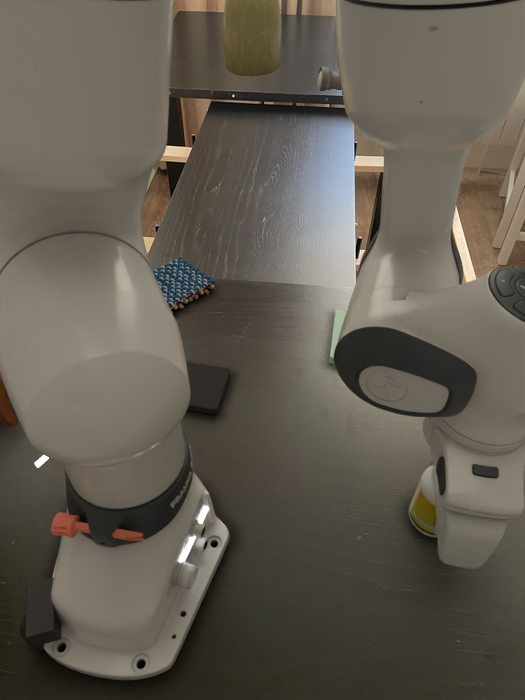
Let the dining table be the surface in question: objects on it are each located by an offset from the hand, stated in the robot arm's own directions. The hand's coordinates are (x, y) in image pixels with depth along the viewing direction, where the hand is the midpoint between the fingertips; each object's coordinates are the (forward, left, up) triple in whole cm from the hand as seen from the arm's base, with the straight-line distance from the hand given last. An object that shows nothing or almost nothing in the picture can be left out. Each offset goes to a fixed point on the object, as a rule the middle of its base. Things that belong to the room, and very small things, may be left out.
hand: (439, 499), depth 60 cm
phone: (+14, +28, -3) cm, 31 cm away
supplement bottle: (0, 0, -4) cm, 4 cm away
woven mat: (+35, +42, -4) cm, 55 cm away
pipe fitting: (+125, +20, +1) cm, 126 cm away
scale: (+28, +7, -4) cm, 29 cm away
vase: (+140, +48, -4) cm, 148 cm away
